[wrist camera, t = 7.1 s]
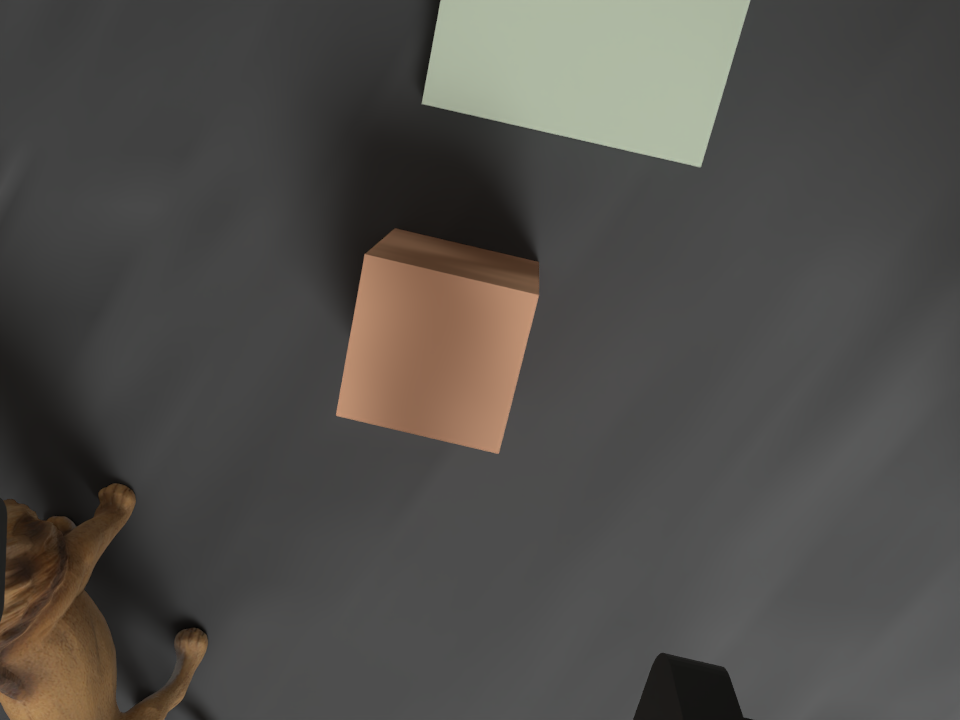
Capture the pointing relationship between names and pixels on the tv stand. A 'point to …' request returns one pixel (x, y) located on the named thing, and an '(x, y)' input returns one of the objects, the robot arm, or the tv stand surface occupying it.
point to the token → (438, 339)
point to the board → (590, 68)
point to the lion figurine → (71, 621)
